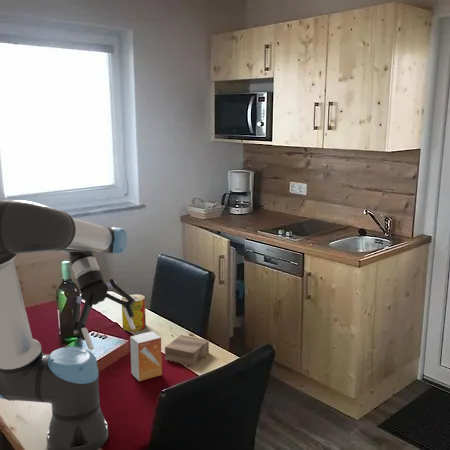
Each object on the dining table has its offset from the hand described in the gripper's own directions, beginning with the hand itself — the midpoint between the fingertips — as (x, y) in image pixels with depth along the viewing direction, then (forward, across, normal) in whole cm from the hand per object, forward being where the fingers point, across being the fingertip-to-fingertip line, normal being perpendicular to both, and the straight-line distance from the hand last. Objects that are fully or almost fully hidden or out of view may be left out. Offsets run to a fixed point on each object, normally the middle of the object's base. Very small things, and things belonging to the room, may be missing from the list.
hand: (112, 339), depth 152 cm
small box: (+11, -1, -20) cm, 23 cm away
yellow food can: (-12, +5, -52) cm, 54 cm away
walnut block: (+10, -13, -32) cm, 36 cm away
